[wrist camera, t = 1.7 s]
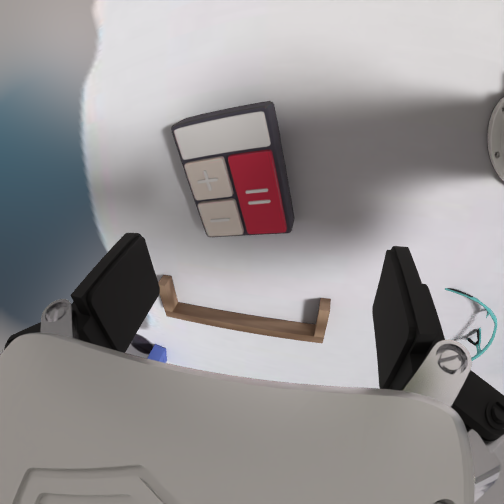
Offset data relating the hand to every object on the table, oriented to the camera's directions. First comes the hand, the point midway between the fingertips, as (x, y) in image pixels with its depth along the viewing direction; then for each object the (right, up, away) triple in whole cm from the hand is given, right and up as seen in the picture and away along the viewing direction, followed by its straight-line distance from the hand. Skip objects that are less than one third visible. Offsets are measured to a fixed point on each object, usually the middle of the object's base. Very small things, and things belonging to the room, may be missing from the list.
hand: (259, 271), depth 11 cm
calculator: (-2, +11, +24) cm, 26 cm away
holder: (-2, -7, +36) cm, 36 cm away
